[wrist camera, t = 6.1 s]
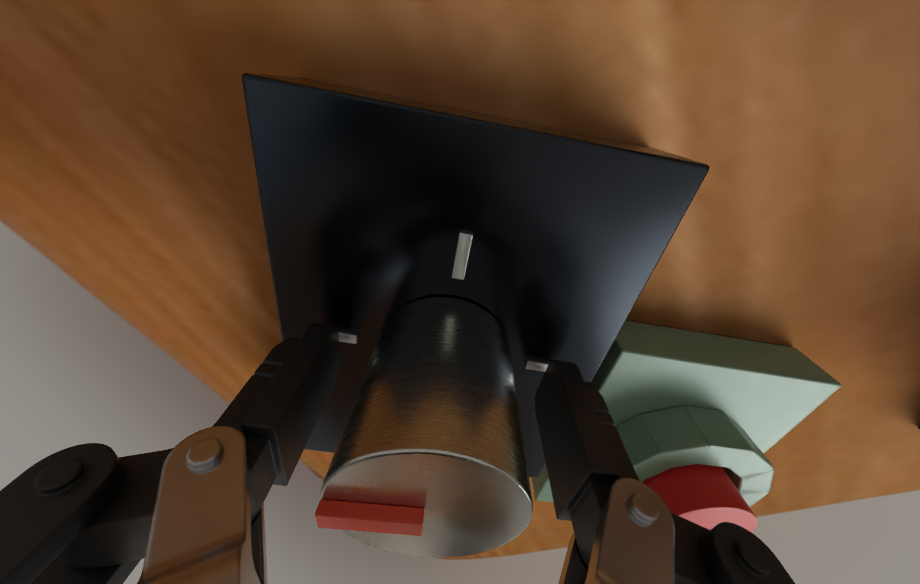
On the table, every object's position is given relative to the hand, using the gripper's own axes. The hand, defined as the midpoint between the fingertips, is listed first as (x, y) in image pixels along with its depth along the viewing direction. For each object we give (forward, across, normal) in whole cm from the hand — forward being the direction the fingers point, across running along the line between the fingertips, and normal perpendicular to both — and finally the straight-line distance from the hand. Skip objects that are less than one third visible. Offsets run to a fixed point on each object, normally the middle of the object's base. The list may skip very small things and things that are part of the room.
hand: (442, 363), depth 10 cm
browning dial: (+1, 0, 0) cm, 1 cm away
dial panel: (+4, 0, 0) cm, 4 cm away
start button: (0, -11, +5) cm, 12 cm away
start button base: (+4, -11, +5) cm, 13 cm away
